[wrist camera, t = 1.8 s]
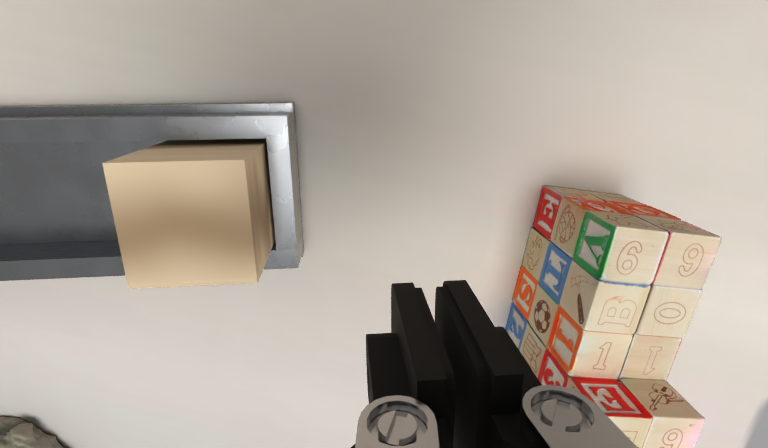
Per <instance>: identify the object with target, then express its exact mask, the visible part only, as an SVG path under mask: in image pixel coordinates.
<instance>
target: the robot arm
mask: <svg viewBox="0 0 768 448" xmlns="http://www.w3.org/2000/svg"><path fill="white" fill-rule="evenodd" d="M366 358H367V383H368V398H369V404H368V405H367V406H366V407H365V409H364V410H363V411H362V412H361V415H360V417H359V420H358V427H357V435H356V444H354V445H353V446H352V447H351V448H639V447H637V446H636V445H635V444H634V443H633V442H632V441H631V440H630V439H629V438H628V437H627V436H626V435H625V434H624V433H623V432H622V431H621V430H620V429H619V428H618V427H617V426H616V425H615V424H614V423H613V422H612V420H611V419H610V418H609V417H608V416H607V415H606V414H605V413H604V412H603V411H602V410H601V409H600V408H599V407H598V406H597V405H596V404H595V403H594V402H593V401H591V400H590V399H589V398H588V397H586V396H585V395H583V394H581V393H579V392H577V391H575V390H572V389H569V388H566V387H563V386H556V385H542V384H541V383H540V381H539V380H538V378H537V377H536V375H535V374H534V372H533V371H532V369H531V368H530V366H529V364H528V363H527V361H526V360H525V358H524V357H523V355H522V354H521V352H520V351H519V349H518V348H517V346H516V345H515V343H514V342H513V340H512V339H511V337H510V336H509V334H508V332H507V331H506V330H505V329H504V328H503V327H494V325H493V323H492V322H491V320H490V319H489V317H488V315H487V314H486V312H485V311H484V309H483V307H482V306H481V304H480V302H479V301H478V299H477V298H476V296H475V294H474V293H473V291H472V290H471V288H470V286H469V285H468V283H467V282H466V280H458V281H444V283H443V287H437V288H436V299H435V322H434V319H433V317H432V314H431V312H430V309H429V306H428V304H427V301H426V299H425V296H424V293H423V291H422V288H415V287H414V284H413V283H395V284H392V287H391V333H381V334H366Z"/></svg>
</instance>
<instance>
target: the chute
mask: <svg viewBox="0 0 768 448" xmlns="http://www.w3.org/2000/svg"><path fill="white" fill-rule="evenodd" d="M261 138H266V139H267V151H268V162H269V173H270V184H271V195H272V206H273V217H274V229H275V242H274V244H273V247H272V249H271V252H270V254H269V256H268V259H267V261H266V264H265V266H264V268H263V269H283V268H298V266H299V262H300V258H301V257H303V254H304V244H303V230H302V215H301V201H300V186H299V172H298V157H297V143H296V128H295V114H294V103H221V104H143V105H64V106H0V281H8V280H31V279H54V278H77V277H100V276H123V275H125V271H124V266H123V261H122V256H121V251H120V246H119V242H118V237H117V232H116V227H115V222H114V218H113V213H112V208H111V203H110V198H109V193H108V189H107V184H106V179H105V174H104V169H103V164H102V163H104V162H107V161H110V160H112V159H115V158H118V157H121V156H124V155H127V154H130V153H133V152H135V151H138V150H141V149H144V148H147V147H150V146H153V145H156V144H158V143H161V142H164V141H167V140H210V139H261Z"/></svg>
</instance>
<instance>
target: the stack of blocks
mask: <svg viewBox="0 0 768 448" xmlns="http://www.w3.org/2000/svg"><path fill="white" fill-rule="evenodd" d="M533 225H534V226H533V228H531V231H530V234H529V238H528V242H527V246H526V250H525V253H524V257H523V262H522V266H521V269H520V272H519V276H518V280H517V283H516V287H515V291H514V295H513V298H512V299H513V303H512V306H511V309H510V314H509V317H508V321H507V325H506V329H505V330H506V331H507V332H508V334H509V336H510V337H511V339H512V340H513V342H514V343H515V345H516V346H517V348H518V349H519V351H520V352H521V354H522V355H523V357H524V358H525V360H526V361H527V363H528V364H529V366H530V368H531V369H532V371H533V372H534V374H535V375H536V377H537V378H538V380H539V381H540V383H541V384H542V385H556V386H563V387H566V388H569V389H572V390H575V391H577V392H579V393H581V394H583V395H585V396H586V397H588V398H589V399H590V400H591V401H593V402H594V403H595V404H596V405H597V406H598V407H599V408H600V409H601V410H602V411H603V412H604V413H605V414H606V415H607V416H608V417H609V418H610V419H611V420H612V422H613V423H614V424H615V425H616V426H617V427H618V428H619V429H620V430H621V431H622V432H623V433H624V434H625V435H626V436H627V437H628V438H629V439H630V440H631V441H632V442H633V443H634V444H635V445H636V446H637V447H639V448H694V446H695V444H696V442H697V439H698V437H699V434H700V432H701V430H702V427H703V425H704V423H705V418H704V417H703V416H702V415H700V414H699V413H698V412H697V411H696V410H695V409H694V408H693V407H692V406H691V405H690V404H689V403H688V402H687V401H686V400H685V399H684V398H683V397H682V396H681V395H680V394H679V393H678V392H677V391H676V390H675V389H674V388H673V387H672V386H671V385H670V384H669V383H668V382H667V381H666V380H667V377H668V375H669V372H670V370H671V367H672V364H673V362H674V359H675V357H676V354H677V351H678V349H679V346H680V344H681V341H682V338H683V337H684V336H685V334H686V332H687V329H688V327H689V324H690V322H691V319H692V317H693V314H694V312H695V309H696V307H697V304H698V302H699V299H700V297H701V294H702V287H703V286H704V283H705V281H706V278H707V276H708V273H709V271H710V268H711V266H712V263H713V261H714V259H715V256H716V253H717V250H718V248H719V246H720V243H721V239H722V238H721V237H719V236H717V235H715V234H713V233H710V232H708V231H706V230H703V229H701V228H699V227H696V226H694V225H692V224H689V223H687V222H685V221H682V220H681V219H679V218H677V217H675V216H673V215H670V214H668V213H665V212H663V211H661V210H658V209H656V208H653V207H650V206H647V205H645V204H642V203H640V202H637V201H635V200H632V199H630V198H627V197H625V196H622V195H616V194H608V193H600V192H592V191H583V190H578V189H571V188H563V187H554V186H543V188H542V192H541V196H540V200H539V204H538V208H537V212H536V216H535V221H534V223H533Z"/></svg>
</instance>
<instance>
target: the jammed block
mask: <svg viewBox="0 0 768 448" xmlns="http://www.w3.org/2000/svg"><path fill="white" fill-rule="evenodd" d="M102 164H103V169H104V174H105V179H106V184H107V189H108V193H109V198H110V203H111V208H112V213H113V218H114V222H115V227H116V232H117V237H118V242H119V246H120V251H121V256H122V261H123V266H124V271H125V275H126V280H127V285H128V289H137V288H159V287H181V286H202V285H224V284H246V283H258V281H259V278H260V276H261V273H262V271H263V268H264V266H265V264H266V261H267V259H268V256H269V254H270V252H271V249H272V247H273V244H274V242H275V229H274V217H273V206H272V195H271V184H270V173H269V162H268V151H267V139H266V138H261V139H210V140H167V141H164V142H161V143H158V144H156V145H153V146H150V147H147V148H144V149H141V150H138V151H135V152H133V153H130V154H127V155H124V156H121V157H118V158H115V159H112V160H110V161H107V162H104V163H102Z"/></svg>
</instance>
